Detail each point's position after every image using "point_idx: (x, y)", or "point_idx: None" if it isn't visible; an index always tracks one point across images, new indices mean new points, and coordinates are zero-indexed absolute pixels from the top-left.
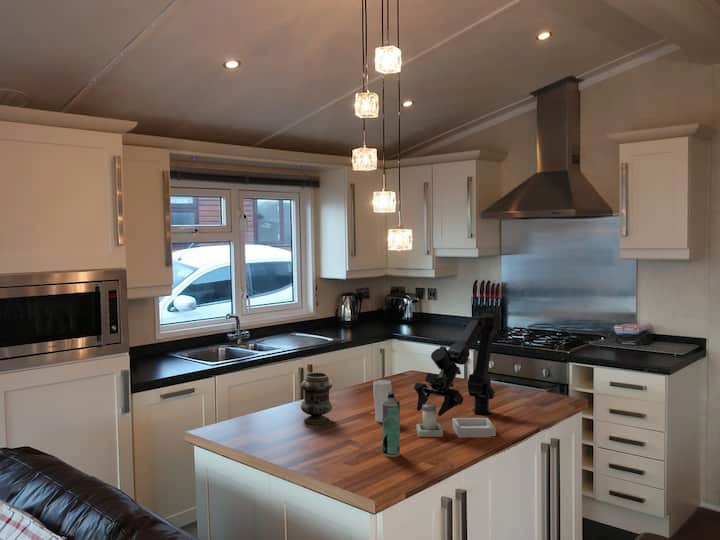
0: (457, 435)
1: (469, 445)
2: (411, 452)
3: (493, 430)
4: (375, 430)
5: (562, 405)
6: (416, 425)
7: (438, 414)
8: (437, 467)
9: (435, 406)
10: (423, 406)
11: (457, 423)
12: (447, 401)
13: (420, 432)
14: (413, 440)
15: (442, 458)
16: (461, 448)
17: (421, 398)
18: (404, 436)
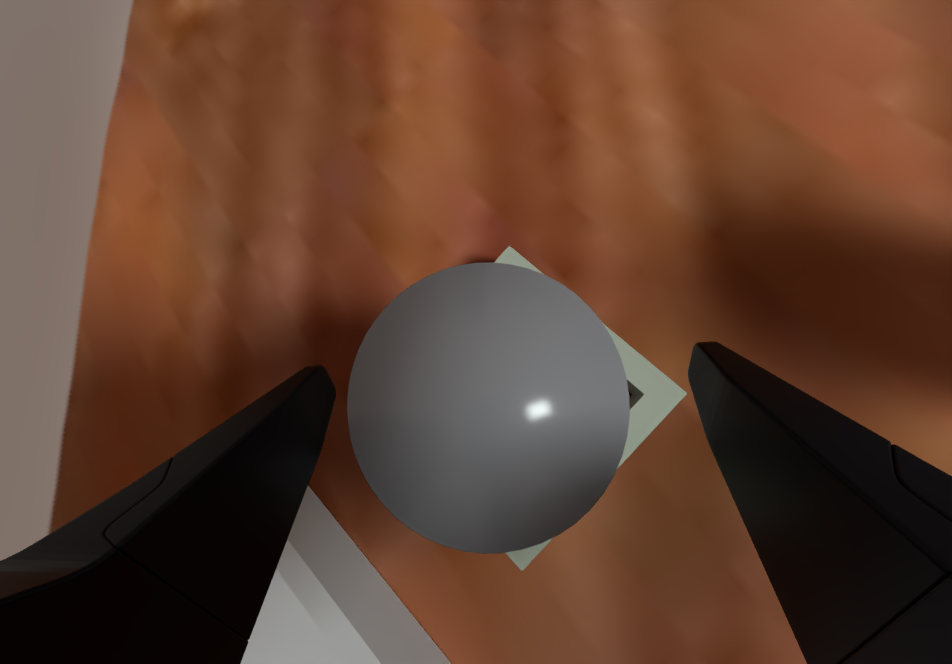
0: (321, 502)
1: (168, 379)
2: (359, 36)
3: None
4: (907, 113)
5: None
6: (664, 377)
7: (311, 366)
8: (153, 12)
9: (348, 419)
10: (521, 269)
11: (332, 633)
12: (6, 559)
13: (501, 260)
14: (490, 182)
15: (189, 105)
16: (181, 298)
17: (881, 531)
18: (601, 193)
